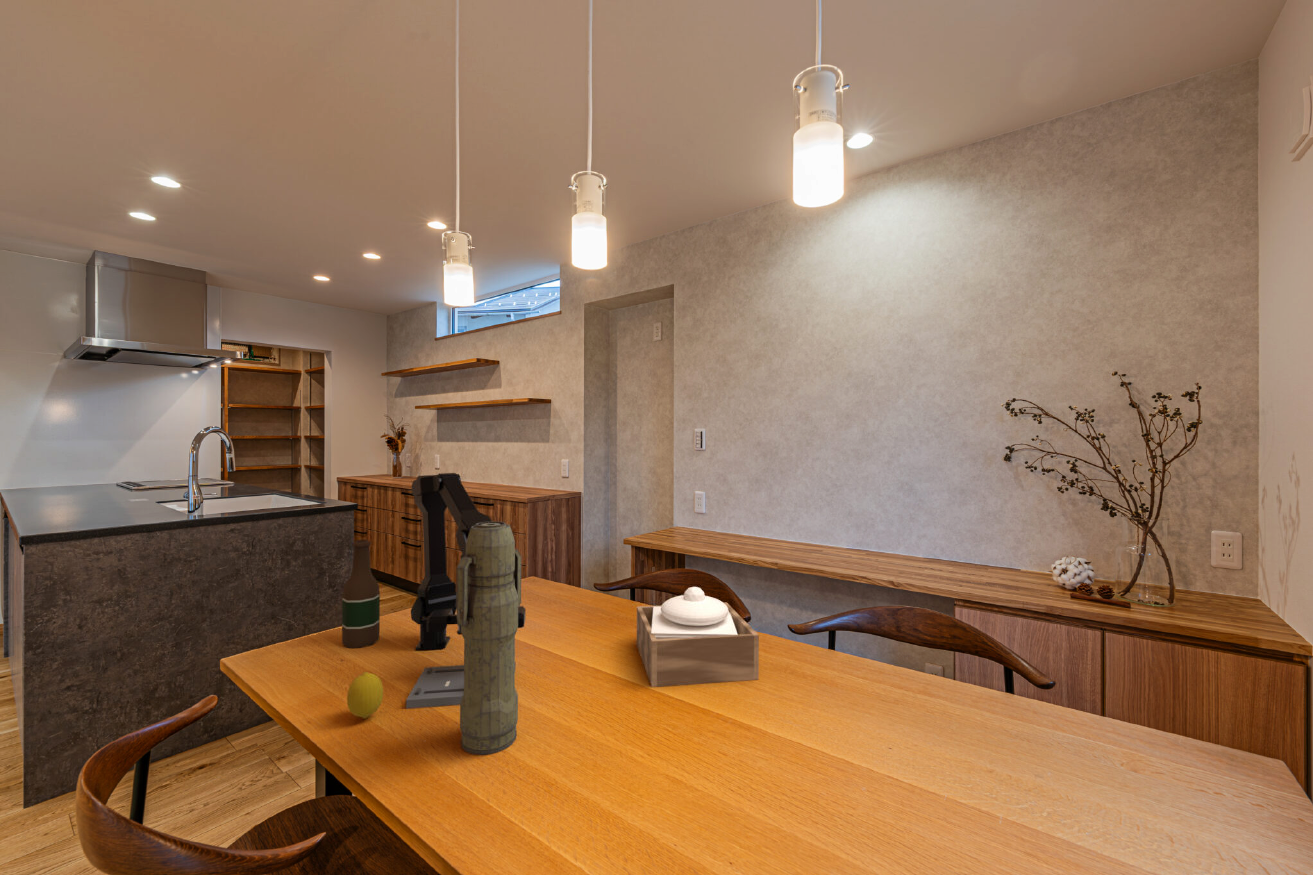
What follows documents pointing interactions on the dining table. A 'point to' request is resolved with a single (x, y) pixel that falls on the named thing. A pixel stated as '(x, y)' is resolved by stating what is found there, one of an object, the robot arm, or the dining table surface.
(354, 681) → the lemon
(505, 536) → the thermos
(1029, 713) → the dining table surface
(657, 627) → the butter dish
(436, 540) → the robot arm
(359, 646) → the beer bottle
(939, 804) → the dining table surface
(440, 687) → the console
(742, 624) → the dish corral
